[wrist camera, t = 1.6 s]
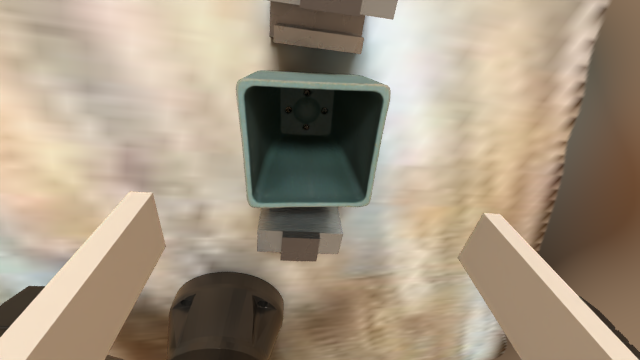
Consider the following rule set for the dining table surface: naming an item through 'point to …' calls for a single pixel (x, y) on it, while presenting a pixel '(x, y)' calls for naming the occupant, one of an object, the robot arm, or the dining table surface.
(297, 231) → the holder
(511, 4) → the dining table surface
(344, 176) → the flower pot
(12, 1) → the dining table surface
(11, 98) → the dining table surface
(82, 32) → the dining table surface
